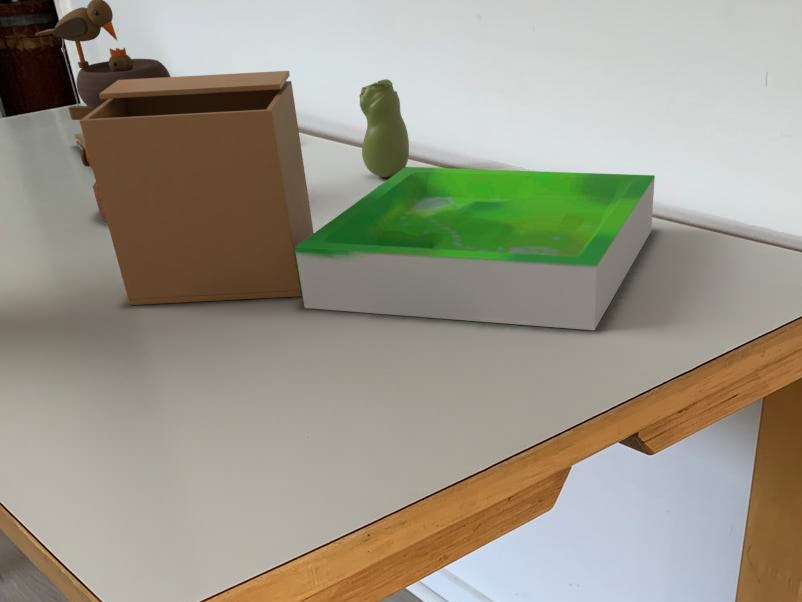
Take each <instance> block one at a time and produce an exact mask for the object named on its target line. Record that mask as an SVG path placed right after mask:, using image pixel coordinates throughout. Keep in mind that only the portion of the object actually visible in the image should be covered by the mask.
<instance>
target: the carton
mask: <svg viewBox="0 0 802 602" xmlns="http://www.w3.org/2000/svg"><path fill="white" fill-rule="evenodd" d="M79 125H80V128H81V133H83V136H84V140H85V143H86V147H87V151H88V154H89V158H90V162H91V165H92V167H91V169H92V172H93V175H94V179H95V182H96V183H97V187H98V191H99V194H100V198H101V202H102V205H103V209H104V213H105V216H106V220H107V222H106V223H107V227H108V231H109V235H110V238H111V241H112V245H113V248H114V251H115V255H116V259H117V263H118V267H119V271H120V274H121V278H122V281H123V285H124V289H125V292H126V296H127V300H128V303H129V306H137V305H138V306H141V305H158V304H161V305H162V304H178V303H180V304H181V303H198V302H199V303H200V302H215V301H216V302H217V301H218V302H219V301H236V300H237V301H238V300H257V299H277V298H295V297H297V298H298V297H302V296H303V295H302V289H301V283H300V276H299V270H298V264H297V258H296V252H295V247H296V246H297V245H299V244H300V243H301V242H303V241H304V240H306V239H307V238H308V237H310V236H311V235H312V234H314V233H315V232H314V225H313V220H312V212H311V205H310V198H309V192H308V191H309V190H308V185H307V179H306V178H307V177H306V172H305V166H304V158H303V151H302V144H301V138H300V132H299V131H300V130H299V125H298V118H297V110H296V104H295V97H294V90H293V84H292V80H286V82H285V83H284V85H283V86H282V88H281V89H279V90H260V91H242V92H224V93H205V94H187V95H168V96H150V97H131V98H113V99H108V100H107V101H105V102H104V103H103V104H101V105H100V106H99V107H97V108H96V109H95V110H93V111H92V112H91V113H89V114H88V115H87V116H85V117H84V118H83V119H81V120H79Z"/></svg>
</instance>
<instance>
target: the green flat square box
mask: <svg viewBox="0 0 802 602" xmlns="http://www.w3.org/2000/svg"><path fill="white" fill-rule="evenodd" d="M655 178H656V176H655V175H653V174H627V173H626V174H625V173H622V174H621V173H595V172H593V173H592V172H570V171H569V172H568V171H566V172H565V171H538V170H537V171H535V170H507V169H483V168H481V169H480V168H479V169H478V168H454V167H453V168H451V167H450V168H449V167H447V168H446V167H420V166H419V167H418V166H405V168H403V169H402V170H400V171H399V172H398V173H396V174H395V175H394V176H392V177H388V179H386V180H385V181H383V182H382V183H381V184H380V185H378V186H376V188H374V189H373V190H371V191H370V192H369V193H367V194H366V195H365V196H363V197H362V198H360V199H359V200H357V201H356V202H355V203H353V204H352V205H351V206H350V207H348V208H347V209H345V210H344V211H342V212H341V213H340V214H339V215H337V216H336V217H335V218H333V219H331V220H330V221H329V222H327V223H326V224H325V225H323V226H322V227H321V228H319V229H318V230H316V231H315V232H314V234H312V235H311V236H310V237H308V238H307V239H306V240H304V241H303V242H301V243H300V244H299V245H297V246H296V247H295V252H296V258H297V264H298V270H299V276H300V283H301V289H302V295H301V296H302V300H303V307H304V309H312V310H327V311H337V312H338V311H339V312H340V311H341V312H352V313H363V314H364V313H366V314H377V315H378V314H380V315H391V316H404V317H415V318H417V317H418V318H427V319H429V318H430V319H442V320H443V319H444V320H455V321H456V320H457V321H466V322H467V321H469V322H481V323H495V324H496V323H497V324H507V325H520V326H533V327H534V326H535V327H545V328H559V329H573V330H584V331H585V330H586V331H595V330H596V329H597V326H598V325H599V324H600V321H602V318H603V316H604V314H605V313H606V311H607V310H608V308H609V306H610V304H611V303H612V300H613V298H614V297H615V296H616V293H617V291H618V290H619V288H620V286H621V285H622V283H623V281H624V279H625V278H626V276H627V274H628V272H629V271H630V269H631V267H632V265H633V264H634V262H635V260H636V259H637V257H638V255H639V253H640V252H641V250H642V248H643V246H644V245H645V243H646V241H647V239H648V237H649V236H650V234H651V232H652V228H653V227H652V226H653V225H652V224H653V211H654V209H653V207H654V194H655Z"/></svg>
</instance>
